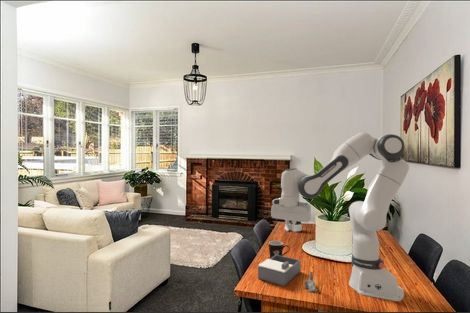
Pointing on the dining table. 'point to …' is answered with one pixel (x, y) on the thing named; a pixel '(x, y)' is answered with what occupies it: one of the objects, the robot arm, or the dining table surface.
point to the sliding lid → (276, 265)
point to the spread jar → (295, 226)
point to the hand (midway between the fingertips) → (290, 229)
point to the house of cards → (310, 284)
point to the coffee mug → (276, 248)
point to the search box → (278, 276)
